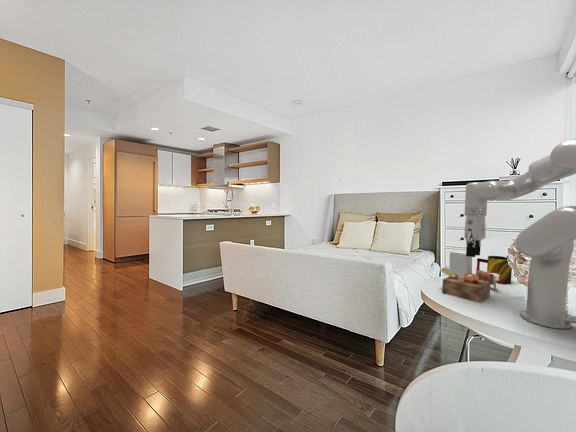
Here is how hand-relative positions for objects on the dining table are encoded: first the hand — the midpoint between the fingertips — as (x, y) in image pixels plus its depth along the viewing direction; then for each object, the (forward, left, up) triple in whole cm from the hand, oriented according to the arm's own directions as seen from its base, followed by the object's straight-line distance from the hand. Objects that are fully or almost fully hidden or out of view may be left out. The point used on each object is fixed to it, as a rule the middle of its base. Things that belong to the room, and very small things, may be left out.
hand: (473, 255), depth 114 cm
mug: (+1, -34, -18) cm, 38 cm away
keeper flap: (+9, 0, -10) cm, 13 cm away
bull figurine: (-1, -18, -18) cm, 25 cm away
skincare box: (+11, -19, -18) cm, 28 cm away
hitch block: (+2, 0, -17) cm, 17 cm away
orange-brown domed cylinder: (0, 0, -17) cm, 17 cm away
